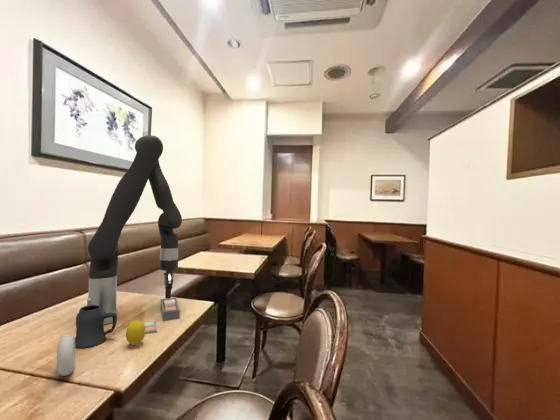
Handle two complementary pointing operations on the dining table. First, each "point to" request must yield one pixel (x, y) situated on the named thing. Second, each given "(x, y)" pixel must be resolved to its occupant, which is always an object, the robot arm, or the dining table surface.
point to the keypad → (170, 314)
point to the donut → (66, 355)
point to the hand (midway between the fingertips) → (168, 297)
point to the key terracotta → (170, 308)
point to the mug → (92, 326)
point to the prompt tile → (150, 327)
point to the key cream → (169, 303)
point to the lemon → (135, 332)
